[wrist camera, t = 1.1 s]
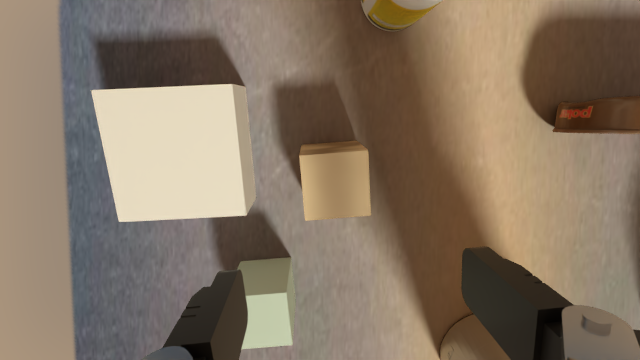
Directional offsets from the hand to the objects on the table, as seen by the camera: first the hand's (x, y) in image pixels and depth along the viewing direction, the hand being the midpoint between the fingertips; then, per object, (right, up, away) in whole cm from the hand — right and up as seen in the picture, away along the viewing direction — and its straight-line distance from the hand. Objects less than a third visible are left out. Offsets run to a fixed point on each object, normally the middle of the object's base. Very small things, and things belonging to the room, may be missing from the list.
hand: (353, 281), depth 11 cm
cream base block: (-12, +7, +17) cm, 22 cm away
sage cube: (-6, -7, +20) cm, 22 cm away
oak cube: (0, +5, +18) cm, 18 cm away
